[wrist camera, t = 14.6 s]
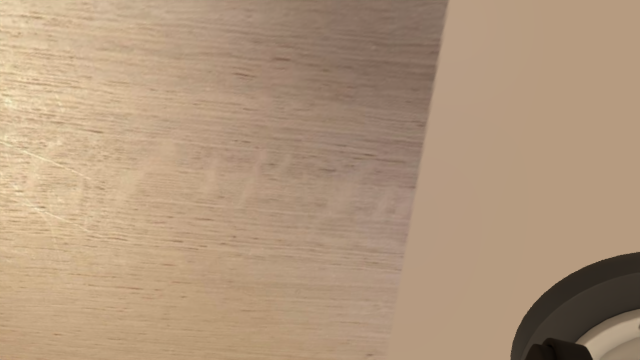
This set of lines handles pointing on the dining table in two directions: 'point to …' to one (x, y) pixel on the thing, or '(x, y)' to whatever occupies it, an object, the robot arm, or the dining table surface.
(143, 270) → the dining table surface
